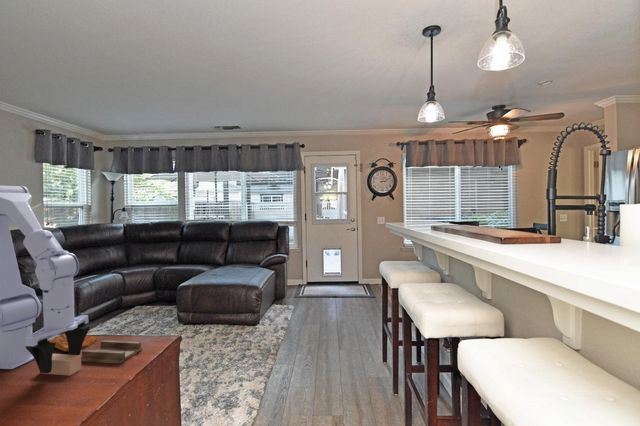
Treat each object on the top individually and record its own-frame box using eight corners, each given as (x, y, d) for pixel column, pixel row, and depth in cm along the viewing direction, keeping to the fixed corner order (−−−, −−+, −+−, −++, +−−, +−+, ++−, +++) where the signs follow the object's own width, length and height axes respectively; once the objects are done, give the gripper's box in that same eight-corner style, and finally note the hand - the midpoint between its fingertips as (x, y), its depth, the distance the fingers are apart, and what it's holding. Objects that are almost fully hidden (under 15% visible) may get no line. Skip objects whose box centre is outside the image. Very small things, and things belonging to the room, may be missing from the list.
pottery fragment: (71, 328, 100) (99, 324, 98) (74, 343, 100) (102, 340, 98) (36, 343, 90) (67, 339, 88) (40, 359, 90) (70, 356, 88)
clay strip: (40, 374, 79) (39, 359, 79) (52, 367, 82) (51, 353, 82) (70, 376, 77) (69, 361, 77) (81, 370, 80) (81, 355, 80)
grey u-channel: (80, 361, 84) (80, 352, 84) (105, 347, 92) (104, 339, 92) (121, 363, 83) (120, 354, 83) (142, 349, 91) (142, 341, 91)
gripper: (45, 317, 71) (47, 381, 72) (98, 298, 86) (100, 351, 86) (15, 316, 72) (17, 379, 73) (73, 297, 87) (75, 350, 87)
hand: (60, 364), depth 79 cm, fingers open, 7 cm apart
